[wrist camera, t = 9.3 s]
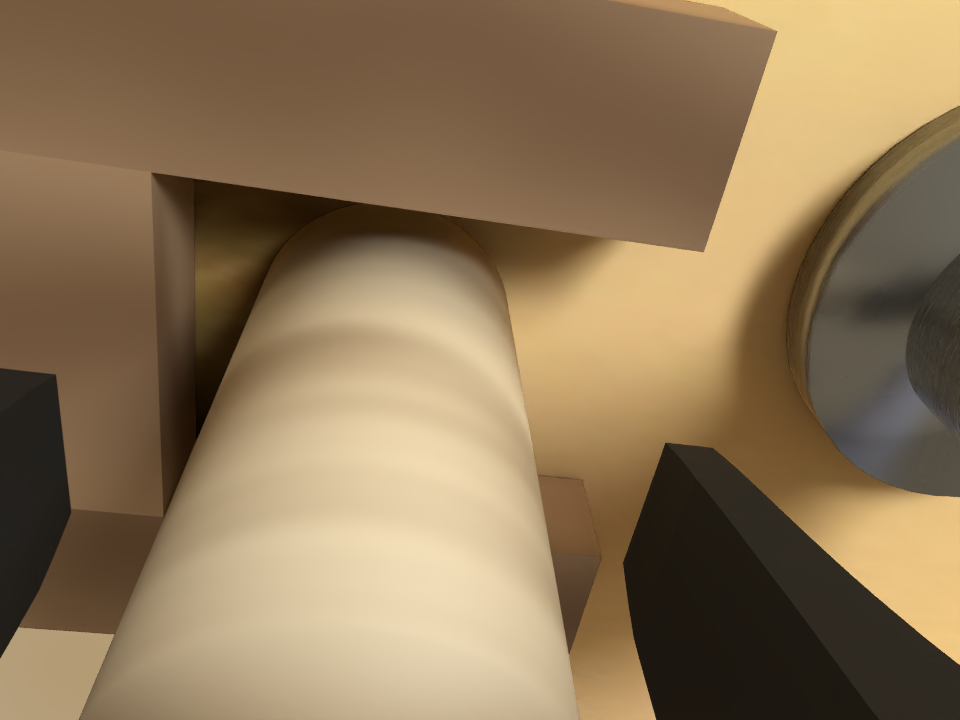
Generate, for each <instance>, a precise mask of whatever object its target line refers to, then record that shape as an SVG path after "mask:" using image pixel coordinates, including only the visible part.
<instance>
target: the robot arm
mask: <svg viewBox="0 0 960 720" xmlns="http://www.w3.org/2000/svg"><path fill="white" fill-rule="evenodd" d="M70 515H71V504H70V495H69V486H68V477H67V468H66V459H65V450H64V441H63V432H62V423H61V414H60V405H59V396H58V387H57V378H56V374H48V373H39V372H30V371H21V370H12V369H3V368H0V658H1V656H2V655H3V653H4V651H5V649H6V647H7V646H8V644H9V642H10V640H11V639H12V637H13V635H14V634H15V632H16V630H17V629H18V627H19V625H20V623H21V622H22V620H23V618H24V616H25V615H26V613H27V611H28V609H29V608H30V606H31V604H32V602H33V600H34V599H35V597H36V595H37V593H38V592H39V590H40V587H41V585H42V583H43V580H44V578H45V576H46V573H47V571H48V569H49V567H50V564H51V562H52V560H53V557H54V555H55V552H56V550H57V547H58V545H59V542H60V540H61V537H62V535H63V532H64V530H65V527H66V525H67V522H68V520H69V517H70ZM623 566H624V574H625V581H626V589H627V597H628V604H629V611H630V617H631V623H632V629H633V636H634V640H635V644H636V648H637V652H638V655H639V659H640V663H641V666H642V670H643V674H644V677H645V681H646V684H647V688H648V692H649V695H650V699H651V702H652V706H653V709H654V713H655V716H656V720H960V665H959V664H957V663H956V662H955V661H954V660H952V659H951V658H950V657H949V656H947V655H946V654H945V653H943V652H942V651H941V650H940V649H938V648H937V647H936V646H935V645H933V644H932V643H931V642H930V641H928V640H927V639H926V638H925V637H923V636H922V635H921V634H920V633H919V632H917V631H916V630H915V629H914V628H913V627H911V626H910V625H909V624H908V623H907V622H905V621H904V620H903V619H902V618H901V617H899V616H898V615H897V614H896V613H895V612H894V611H892V610H891V609H890V608H889V607H888V606H886V605H885V604H884V603H883V602H882V601H880V600H879V599H878V598H877V597H876V596H874V595H873V594H872V593H871V592H870V591H869V590H868V589H867V588H865V587H864V586H863V585H862V584H861V583H860V582H859V581H857V580H856V579H855V578H854V577H853V576H852V575H851V574H849V573H848V572H847V571H846V570H845V569H844V568H843V567H842V566H841V565H840V564H838V563H837V562H836V561H835V560H834V559H833V558H832V557H831V556H830V555H829V554H827V553H826V552H825V551H824V550H823V549H822V548H821V547H820V546H819V545H818V544H817V543H816V542H814V541H813V540H812V539H811V538H810V537H809V536H808V535H807V534H806V533H805V532H804V531H803V530H802V529H801V528H799V527H798V526H797V525H796V524H795V523H794V522H793V521H792V520H791V519H790V518H789V517H788V516H787V515H786V514H785V513H784V512H782V511H781V510H780V509H779V508H778V507H777V506H776V505H775V504H774V503H773V502H772V501H771V500H770V499H769V498H768V497H767V496H766V495H764V494H763V493H762V492H761V491H760V490H759V489H758V488H757V487H756V486H755V485H754V484H753V483H752V482H751V481H750V480H748V479H747V478H746V477H745V476H744V475H743V474H742V473H741V472H740V471H739V470H738V469H737V468H735V467H734V466H733V465H732V464H731V463H730V462H729V461H727V460H726V459H725V458H724V457H723V456H722V455H720V454H719V453H718V452H717V451H715V450H714V449H713V448H708V447H699V446H690V445H681V444H672V443H665V446H664V449H663V452H662V455H661V457H660V460H659V463H658V466H657V469H656V471H655V474H654V477H653V480H652V483H651V486H650V488H649V491H648V494H647V497H646V500H645V503H644V505H643V508H642V511H641V514H640V517H639V519H638V522H637V525H636V528H635V531H634V534H633V536H632V539H631V542H630V545H629V548H628V551H627V553H626V556H625V559H624V562H623Z"/></svg>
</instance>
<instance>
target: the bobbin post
mask: <svg viewBox="0 0 960 720" xmlns="http://www.w3.org/2000/svg"><path fill="white" fill-rule="evenodd" d="M787 349H788V358H789V364H790V368H791V371H792V375H793V378H794V382H795V384H796V386H797V388H798V390H799V393H800V395H801V397H802V399H803V401H804V402H805V404H806V405H807V406H808V408H809V409H810V411H811V412H812V414H813V415H814V416H815V418H816V419H817V421H818V422H819V423H820V425H821V426H822V428H823V429H824V430H825V432H826V433H827V435H828V436H829V437H830V439H831V440H832V442H833V443H834V444H835V446H836V447H837V448H838V450H839V451H840V452H841V453H842V454H843V455H844V456H845V457H846V458H847V459H848V460H849V461H851V462H852V463H853V464H854V465H855V466H857V467H858V468H859V469H861V470H862V471H864V472H865V473H867V474H868V475H870V476H871V477H874V478H876V479H878V480H880V481H882V482H884V483H886V484H889V485H891V486H894V487H897V488H901V489H904V490H907V491H911V492H916V493H922V494H928V495H934V496H951V497H960V106H959V107H957V108H955V109H954V110H952V111H950V112H948V113H946V114H945V115H943V116H941V117H939V118H937V119H935V120H934V121H932V122H930V123H928V124H927V125H925V126H924V127H922V128H921V129H919V130H918V131H916V132H915V133H913V134H912V135H911V136H909V137H908V138H906V139H905V140H903V141H902V142H900V143H899V144H898V145H897V146H895V147H894V148H893V149H892V150H891V151H889V152H888V153H887V154H886V155H885V156H884V157H882V158H881V159H880V160H879V161H878V162H876V163H875V164H874V165H873V166H872V167H871V168H870V169H869V170H868V171H867V172H866V173H865V174H864V175H863V176H862V177H861V178H860V179H859V180H858V181H857V182H856V183H855V184H854V185H853V186H852V188H851V189H850V190H849V191H848V192H847V193H846V195H845V196H844V197H843V198H842V200H841V201H840V202H839V204H838V205H837V206H836V207H835V209H834V210H833V211H832V212H831V214H830V215H829V217H828V218H827V220H826V221H825V223H824V225H823V226H822V228H821V229H820V231H819V233H818V234H817V236H816V237H815V239H814V241H813V242H812V245H811V247H810V249H809V251H808V253H807V255H806V257H805V259H804V261H803V264H802V266H801V268H800V271H799V274H798V277H797V280H796V283H795V286H794V289H793V292H792V297H791V302H790V307H789V313H788V320H787Z"/></svg>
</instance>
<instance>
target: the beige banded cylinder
mask: <svg viewBox="0 0 960 720" xmlns="http://www.w3.org/2000/svg"><path fill="white" fill-rule="evenodd" d="M79 720H580V716H579V711H578V705H577V699H576V693H575V688H574V682H573V676H572V670H571V665H570V659H569V653H568V647H567V642H566V636H565V630H564V625H563V619H562V613H561V607H560V602H559V596H558V590H557V584H556V579H555V573H554V567H553V562H552V556H551V550H550V544H549V539H548V533H547V527H546V521H545V516H544V510H543V504H542V498H541V493H540V487H539V481H538V476H537V470H536V464H535V458H534V453H533V447H532V441H531V435H530V430H529V424H528V418H527V412H526V407H525V401H524V395H523V390H522V384H521V378H520V372H519V367H518V361H517V355H516V349H515V344H514V338H513V332H512V326H511V321H510V315H509V309H508V304H507V298H506V293H505V290H504V286H503V283H502V280H501V278H500V275H499V273H498V271H497V269H496V267H495V265H494V264H493V262H492V260H491V259H490V257H489V256H488V254H487V253H486V252H485V251H484V249H483V248H482V247H481V246H480V245H479V244H478V243H477V241H476V240H474V239H473V238H472V237H471V236H470V235H469V234H468V233H466V232H465V231H464V230H463V229H461V228H460V227H458V226H457V225H455V224H454V223H452V222H451V221H449V220H447V219H445V218H443V217H441V216H439V215H437V214H435V213H429V212H422V211H415V210H408V209H401V208H395V207H388V206H381V205H374V204H367V203H364V204H358V205H352V206H347V207H344V208H341V209H337V210H334V211H332V212H329V213H327V214H325V215H323V216H320V217H318V218H316V219H315V220H313V221H312V222H310V223H308V224H307V225H305V226H304V227H303V228H301V229H300V230H299V231H298V232H297V233H295V234H294V235H293V236H292V237H291V238H290V239H289V240H288V241H287V242H286V244H285V245H284V246H283V247H282V248H281V250H280V251H279V253H278V254H277V256H276V257H275V259H274V260H273V262H272V264H271V266H270V269H269V271H268V273H267V275H266V278H265V280H264V282H263V285H262V287H261V289H260V292H259V294H258V297H257V299H256V301H255V304H254V306H253V308H252V311H251V313H250V316H249V318H248V320H247V323H246V325H245V327H244V330H243V332H242V334H241V337H240V339H239V342H238V344H237V346H236V349H235V351H234V353H233V356H232V358H231V361H230V363H229V365H228V368H227V370H226V372H225V375H224V377H223V379H222V382H221V384H220V387H219V389H218V391H217V394H216V396H215V398H214V401H213V403H212V406H211V408H210V410H209V413H208V415H207V417H206V420H205V422H204V424H203V427H202V429H201V432H200V434H199V436H198V439H197V441H196V443H195V446H194V448H193V451H192V453H191V455H190V458H189V460H188V462H187V465H186V467H185V469H184V472H183V474H182V477H181V479H180V481H179V484H178V486H177V488H176V491H175V493H174V495H173V498H172V500H171V503H170V505H169V507H168V510H167V512H166V514H165V517H164V519H163V522H162V524H161V526H160V529H159V531H158V533H157V536H156V538H155V540H154V543H153V545H152V548H151V550H150V552H149V555H148V557H147V559H146V562H145V564H144V567H143V569H142V571H141V574H140V576H139V578H138V581H137V583H136V585H135V588H134V590H133V593H132V595H131V597H130V600H129V602H128V604H127V607H126V609H125V612H124V614H123V616H122V619H121V621H120V623H119V626H118V628H117V630H116V633H115V635H114V638H113V640H112V642H111V645H110V647H109V649H108V652H107V654H106V657H105V659H104V662H103V664H102V666H101V669H100V671H99V673H98V675H97V678H96V680H95V683H94V685H93V687H92V690H91V692H90V694H89V697H88V699H87V702H86V704H85V706H84V709H83V711H82V714H81V716H80V718H79Z"/></svg>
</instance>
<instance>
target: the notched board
mask: <svg viewBox="0 0 960 720" xmlns="http://www.w3.org/2000/svg"><path fill="white" fill-rule="evenodd" d="M776 34H777V31H775V30H773V29H771V28H768V27H766V26H764V25H762V24H759V23H757V22H755V21H752V20H750V19H748V18H746V17H743V16H741V15H739V14H737V13H734V12H732V11H730V10H728V9H725V8H722V7H717V6H712V5H706V4H701V3H696V2H690V1H685V0H0V368H3V369H12V370H21V371H30V372H39V373H48V374H56V378H57V387H58V396H59V405H60V414H61V423H62V432H63V441H64V450H65V459H66V468H67V477H68V486H69V495H70V504H71V515H70V517H69V520H68V522H67V525H66V527H65V530H64V532H63V535H62V537H61V540H60V542H59V545H58V547H57V550H56V552H55V555H54V557H53V560H52V562H51V564H50V567H49V569H48V571H47V573H46V576H45V578H44V580H43V583H42V585H41V587H40V590H39V592H38V593H37V595H36V597H35V599H34V600H33V602H32V604H31V606H30V608H29V609H28V611H27V613H26V615H25V616H24V618H23V620H22V622H21V623H20V625H19V627H22V628H23V627H24V628H35V629H49V630H63V631H78V632H90V633H103V634H115V633H116V630H117V628H118V626H119V623H120V621H121V619H122V616H123V614H124V612H125V609H126V607H127V604H128V602H129V600H130V597H131V595H132V593H133V590H134V588H135V585H136V583H137V581H138V578H139V576H140V574H141V571H142V569H143V567H144V564H145V562H146V559H147V557H148V555H149V552H150V550H151V548H152V545H153V543H154V540H155V538H156V536H157V533H158V531H159V529H160V526H161V524H162V522H163V519H164V517H165V514H166V512H167V510H168V507H169V505H170V503H171V500H172V498H173V495H174V493H175V491H176V488H177V486H178V484H179V481H180V479H181V477H182V474H183V472H184V469H185V467H186V465H187V462H188V460H189V458H190V455H191V453H192V451H193V448H194V446H195V443H196V441H197V440H196V356H195V240H194V179H201V180H208V181H215V182H222V183H229V184H236V185H243V186H249V187H256V188H263V189H270V190H277V191H284V192H291V193H298V194H305V195H312V196H319V197H325V198H332V199H339V200H346V201H353V202H360V203H367V204H374V205H381V206H388V207H395V208H401V209H408V210H415V211H422V212H429V213H436V214H443V215H450V216H457V217H464V218H471V219H477V220H484V221H491V222H498V223H505V224H512V225H519V226H526V227H533V228H540V229H547V230H553V231H560V232H567V233H574V234H581V235H588V236H595V237H602V238H609V239H616V240H623V241H629V242H636V243H643V244H650V245H657V246H664V247H671V248H678V249H685V250H692V251H699V252H704V249H705V246H706V243H707V240H708V237H709V234H710V231H711V229H712V226H713V223H714V220H715V217H716V214H717V211H718V208H719V205H720V202H721V199H722V196H723V193H724V190H725V187H726V184H727V181H728V178H729V175H730V172H731V169H732V166H733V163H734V160H735V157H736V154H737V151H738V148H739V145H740V142H741V139H742V136H743V133H744V130H745V127H746V124H747V121H748V118H749V115H750V112H751V109H752V106H753V103H754V100H755V97H756V94H757V91H758V88H759V85H760V82H761V79H762V76H763V73H764V70H765V67H766V64H767V61H768V58H769V55H770V52H771V49H772V46H773V43H774V40H775V37H776ZM537 476H538V475H537ZM538 481H539V487H540V493H541V498H542V504H543V510H544V516H545V521H546V527H547V533H548V539H549V544H550V550H551V556H552V562H553V567H554V573H555V579H556V584H557V590H558V596H559V602H560V607H561V613H562V619H563V625H564V630H565V636H566V642H567V647H568V653H570V650H571V647H572V644H573V641H574V638H575V635H576V632H577V629H578V626H579V623H580V620H581V617H582V614H583V611H584V608H585V605H586V602H587V599H588V596H589V593H590V590H591V588H592V585H593V582H594V579H595V576H596V573H597V570H598V567H599V564H600V561H601V558H602V557H601V553H600V549H599V545H598V541H597V537H596V533H595V529H594V525H593V521H592V517H591V513H590V509H589V505H588V501H587V497H586V493H585V489H584V485H583V481H582V480H576V479H567V478H557V477H548V476H538Z"/></svg>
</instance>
